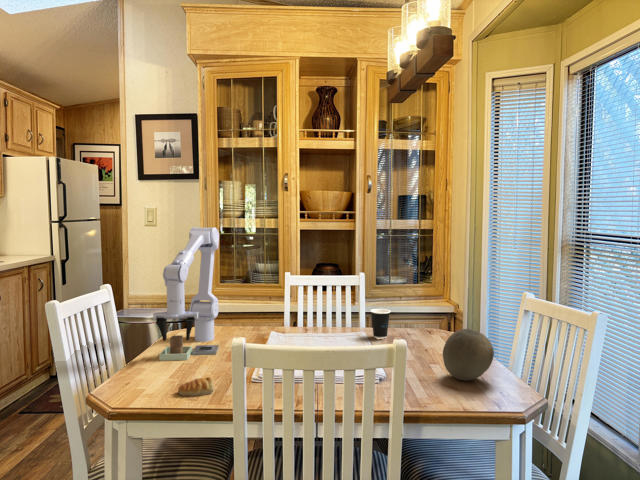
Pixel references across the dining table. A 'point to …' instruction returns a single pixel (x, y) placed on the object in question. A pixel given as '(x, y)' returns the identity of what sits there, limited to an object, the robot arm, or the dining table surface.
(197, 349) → the socket block
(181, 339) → the strut
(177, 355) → the bin
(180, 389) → the pastry
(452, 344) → the cantaloupe
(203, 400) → the dining table surface
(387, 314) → the dixie cup
